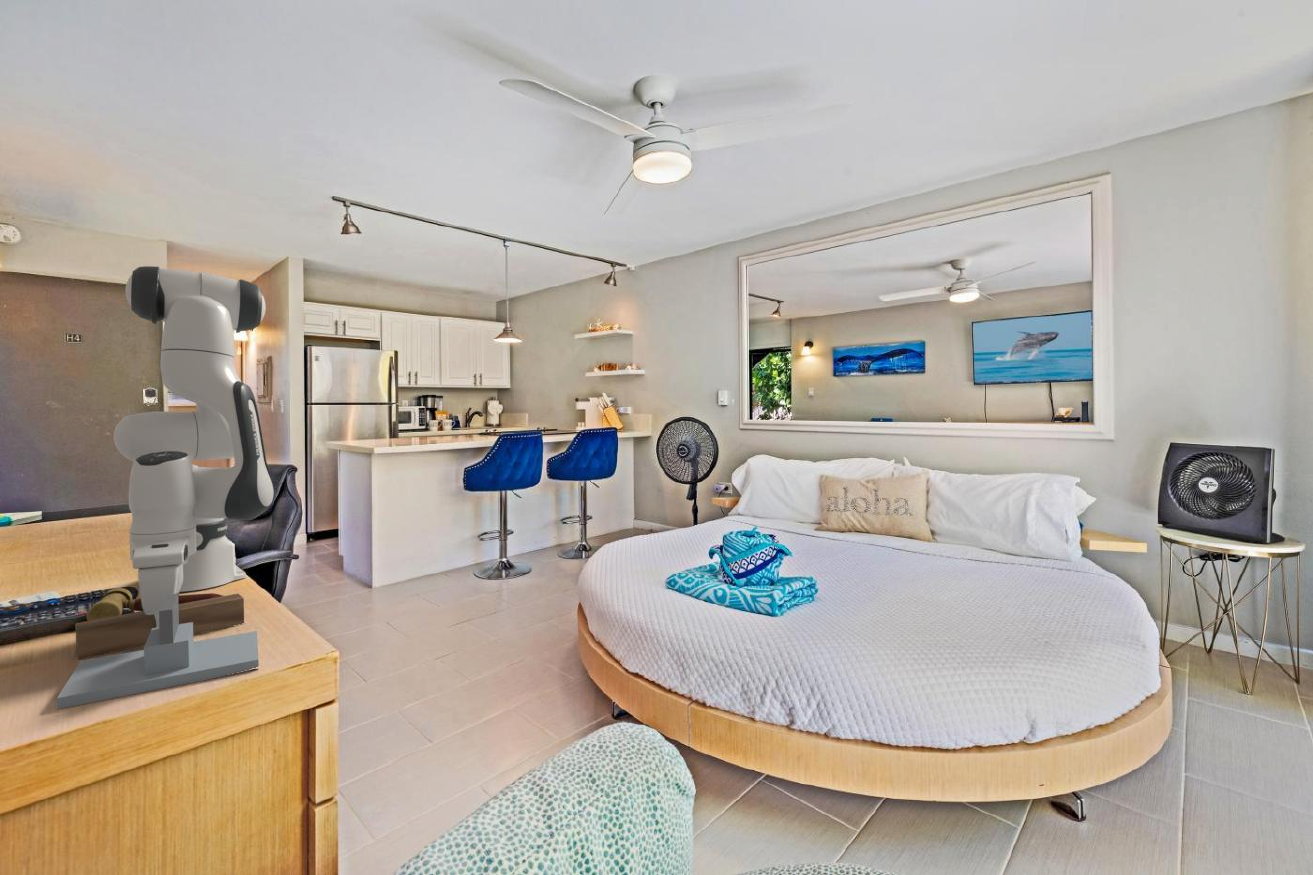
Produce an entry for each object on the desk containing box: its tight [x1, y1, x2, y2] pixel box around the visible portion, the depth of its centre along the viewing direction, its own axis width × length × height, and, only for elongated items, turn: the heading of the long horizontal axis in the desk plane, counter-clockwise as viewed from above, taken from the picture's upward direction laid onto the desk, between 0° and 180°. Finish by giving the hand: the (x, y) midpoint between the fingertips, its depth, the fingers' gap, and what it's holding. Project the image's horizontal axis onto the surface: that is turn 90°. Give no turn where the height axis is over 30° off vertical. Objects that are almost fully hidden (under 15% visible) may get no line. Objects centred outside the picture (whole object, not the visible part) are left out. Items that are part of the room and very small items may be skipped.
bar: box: [74, 593, 245, 660], centre depth 102 cm, size 4×22×5 cm, turn 138°
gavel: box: [86, 587, 225, 621], centre depth 116 cm, size 21×5×10 cm
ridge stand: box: [56, 593, 260, 710], centre depth 89 cm, size 14×22×10 cm, turn 125°
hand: (165, 624), depth 102 cm, fingers closed on bar, 4 cm apart
